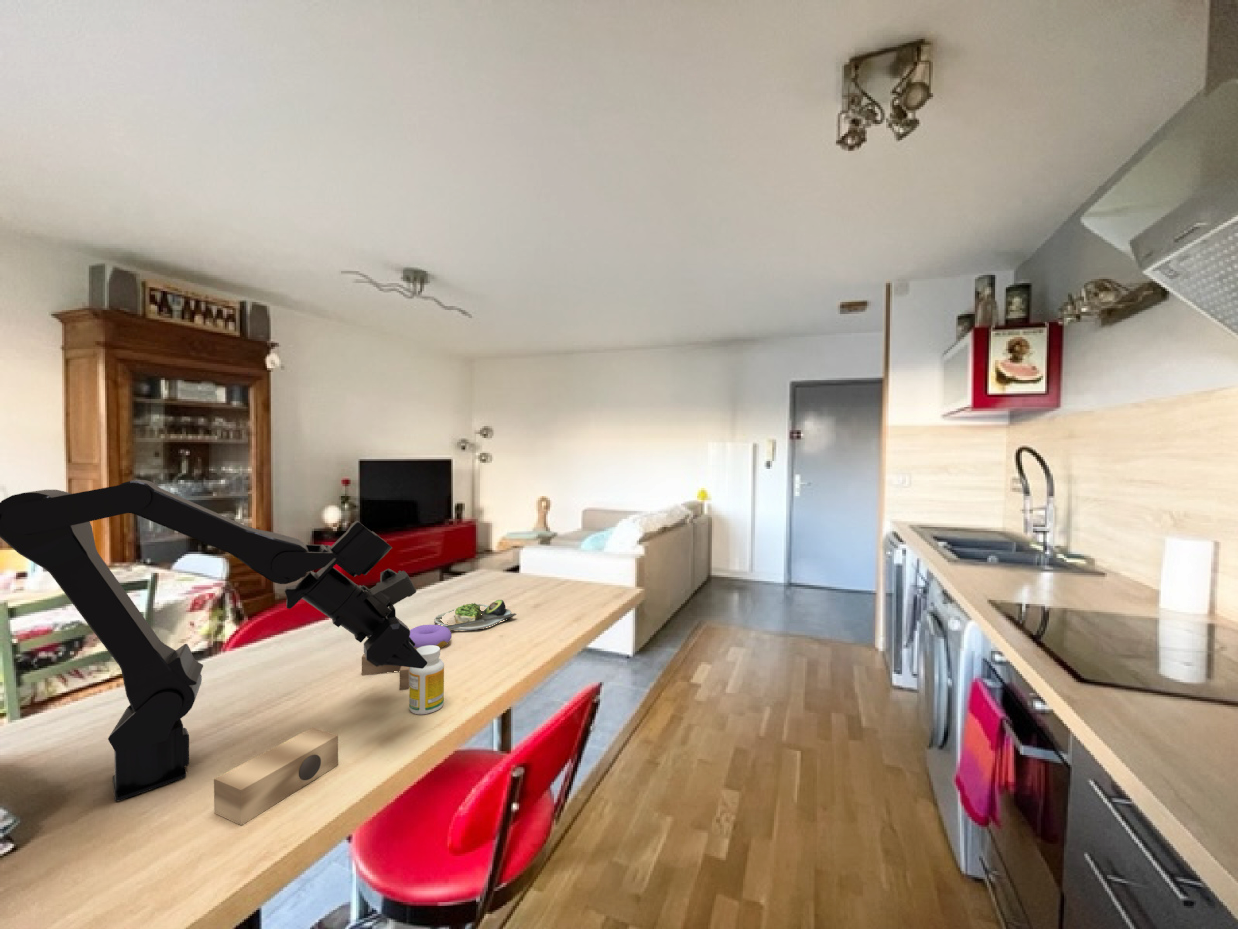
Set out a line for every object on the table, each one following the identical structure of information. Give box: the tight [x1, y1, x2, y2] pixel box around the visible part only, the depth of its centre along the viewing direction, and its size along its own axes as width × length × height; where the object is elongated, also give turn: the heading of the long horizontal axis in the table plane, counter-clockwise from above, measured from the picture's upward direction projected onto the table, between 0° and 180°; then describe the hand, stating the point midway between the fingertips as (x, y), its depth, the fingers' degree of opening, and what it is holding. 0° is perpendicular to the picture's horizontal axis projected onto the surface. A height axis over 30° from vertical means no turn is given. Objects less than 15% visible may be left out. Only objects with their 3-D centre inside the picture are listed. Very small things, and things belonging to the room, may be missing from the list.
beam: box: [213, 727, 339, 826], centre depth 62 cm, size 12×5×4 cm, turn 157°
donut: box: [409, 624, 452, 649], centre depth 110 cm, size 10×9×5 cm
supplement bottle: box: [408, 645, 445, 715], centre depth 83 cm, size 5×5×10 cm
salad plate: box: [433, 599, 517, 631], centre depth 125 cm, size 19×18×5 cm
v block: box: [361, 653, 410, 691], centre depth 95 cm, size 8×13×4 cm, turn 59°
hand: (418, 655), depth 82 cm, fingers open, 9 cm apart
